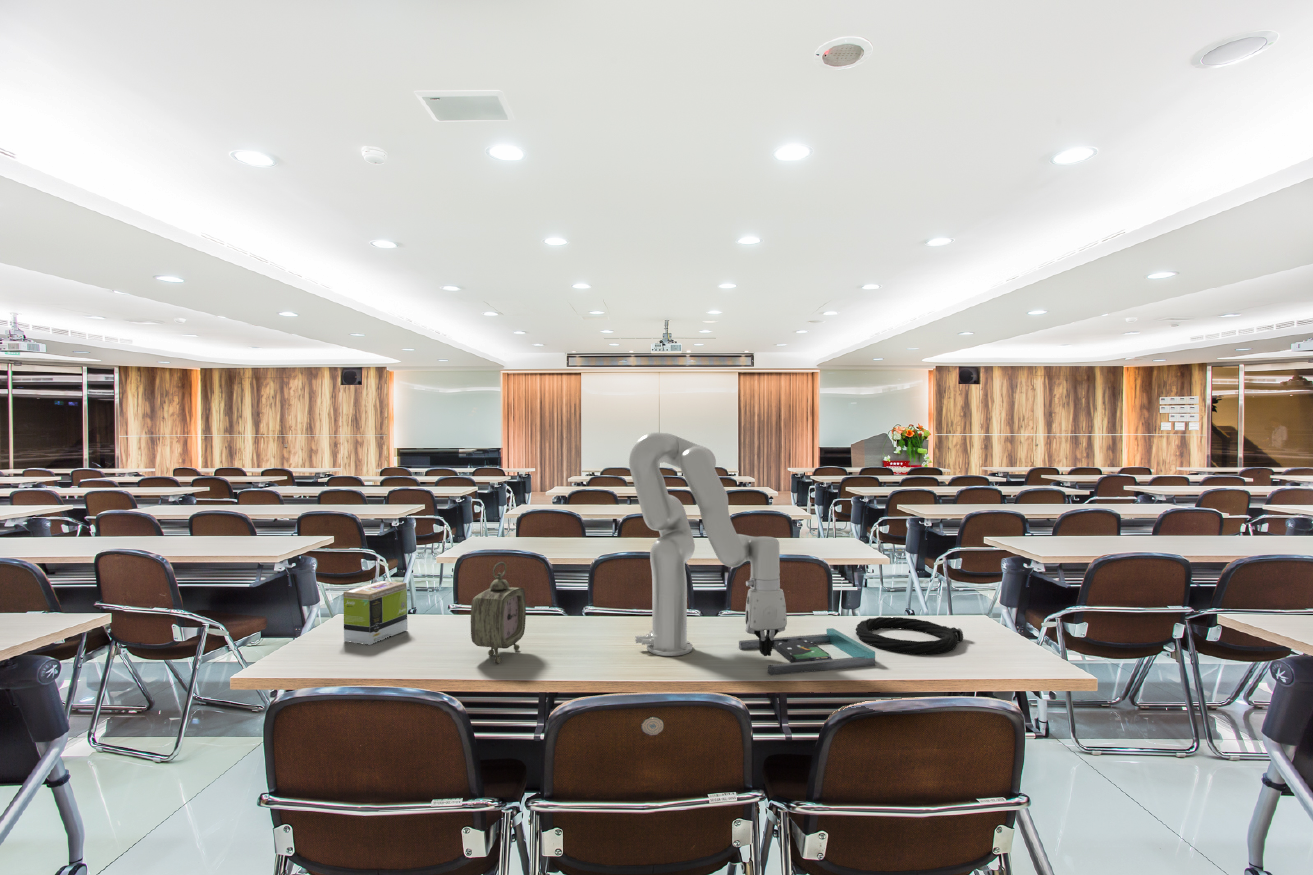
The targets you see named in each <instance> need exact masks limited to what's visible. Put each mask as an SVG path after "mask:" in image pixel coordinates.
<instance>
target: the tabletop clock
mask: <svg viewBox="0 0 1313 875" xmlns="http://www.w3.org/2000/svg"><path fill="white" fill-rule="evenodd" d="M501 565H503V568H504V571H503V572H502V573H501V572H497V575H496V574H495V572H496V569H497V568H498V567H499V566H501ZM506 572H507V564H506V563H505V562H504V561H499V562H497V563H496V564H495V565H494V567H493V569H492V577H493V578H494V580H493V581H492V582H491V583H490V585H489V588H487V589H486V590H484V591H482V592H480V593H478V594H477V595H475V596H474V597H473V599H472V600H471V605H470V606H471V608H470V638H471V642H472V643H473V644H474V645H475V646H477V647H483V648H490V649H489V650H488V652H487V655H488V656H490V657H492V656H494V655H495V658H494V661H493V662H494V664H496V665H498V664H500V663H501V660H502V658H500V657H499V649H509V648H510V647H512V646H513V650H514V651H519V650H520V644H518V642H519V641H520V640H521V639H522V638H523V636H524V634H525V628H526V616H527V614H526V613H527V605H526V591H525V589H524V588H523V587H514V586H513V587H510V583H509V582H508V581H507V579H503V577H504V576H505V574H506Z"/></svg>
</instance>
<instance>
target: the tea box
mask: <svg viewBox="0 0 1313 875" xmlns="http://www.w3.org/2000/svg"><path fill="white" fill-rule="evenodd" d="M407 584H408V583H407V582H401V581H400V582H398V581H386V580H380V581H377V582H376V581H375V582H373V583H369V584H366V585H363V586H359V587H356V588H352V589H349V590H345V591H343V641H344V642H345V641H351V642H355V643H354V644H357V643H363V644H362V645H365V644H368V646H371V645H373V643H374V644H375V642H376V643H378V642H377V641H379V642H381V641H384V640H386V639H388V638H390V637H389V636H391V637H394V636H396V635H399V634H400V633H403V632H405V631H408V590H407V589H408V588H407V587H408V585H407ZM387 637H388V638H387ZM385 638H386V639H385ZM380 640H381V641H380Z"/></svg>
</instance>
